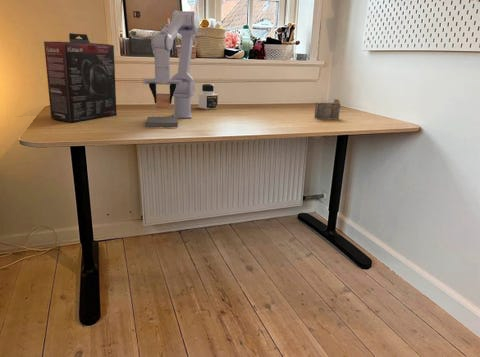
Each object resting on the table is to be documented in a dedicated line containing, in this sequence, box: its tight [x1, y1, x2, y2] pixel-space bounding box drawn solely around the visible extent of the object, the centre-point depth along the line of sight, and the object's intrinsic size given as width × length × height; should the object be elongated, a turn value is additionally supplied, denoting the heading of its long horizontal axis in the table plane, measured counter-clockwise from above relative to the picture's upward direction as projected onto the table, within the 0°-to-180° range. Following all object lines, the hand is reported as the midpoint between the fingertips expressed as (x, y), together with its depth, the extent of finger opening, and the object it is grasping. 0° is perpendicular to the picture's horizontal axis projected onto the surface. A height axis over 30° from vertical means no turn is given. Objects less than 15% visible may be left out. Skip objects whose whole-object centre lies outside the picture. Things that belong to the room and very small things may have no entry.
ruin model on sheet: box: [313, 98, 341, 119], centre depth 183 cm, size 11×3×10 cm, turn 102°
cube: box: [155, 92, 171, 109], centre depth 151 cm, size 5×5×5 cm
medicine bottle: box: [198, 83, 219, 110], centre depth 196 cm, size 7×7×12 cm
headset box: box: [43, 32, 117, 123], centre depth 156 cm, size 24×13×33 cm, turn 152°
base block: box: [145, 116, 178, 128], centre depth 154 cm, size 12×12×2 cm
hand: (163, 103), depth 151 cm, fingers closed on cube, 5 cm apart
